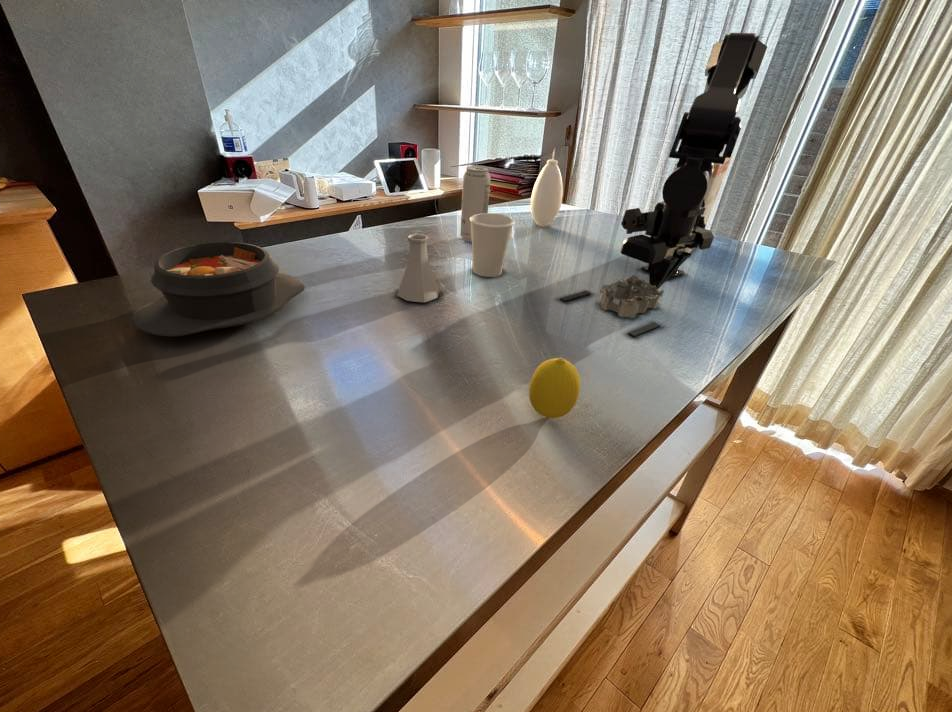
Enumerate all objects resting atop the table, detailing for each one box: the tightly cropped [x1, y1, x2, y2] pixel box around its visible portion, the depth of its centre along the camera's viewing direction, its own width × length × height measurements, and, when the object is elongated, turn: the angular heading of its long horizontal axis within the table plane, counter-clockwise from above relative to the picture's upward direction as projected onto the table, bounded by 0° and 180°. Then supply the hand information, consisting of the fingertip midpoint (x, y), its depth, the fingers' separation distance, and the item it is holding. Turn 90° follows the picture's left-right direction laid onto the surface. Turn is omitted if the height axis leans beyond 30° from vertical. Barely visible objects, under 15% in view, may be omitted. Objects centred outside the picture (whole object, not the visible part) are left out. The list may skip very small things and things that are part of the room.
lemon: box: [528, 357, 581, 419], centre depth 49 cm, size 6×6×8 cm
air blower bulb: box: [530, 147, 564, 228], centre depth 111 cm, size 8×8×18 cm
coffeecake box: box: [685, 153, 733, 254], centre depth 103 cm, size 15×7×20 cm, turn 144°
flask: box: [396, 233, 440, 304], centre depth 74 cm, size 7×7×10 cm
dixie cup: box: [470, 212, 515, 278], centre depth 85 cm, size 8×8×10 cm
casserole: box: [131, 241, 306, 338], centre depth 66 cm, size 25×19×8 cm
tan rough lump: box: [599, 274, 665, 319], centre depth 77 cm, size 11×8×4 cm
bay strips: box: [559, 290, 661, 338], centre depth 76 cm, size 7×16×1 cm, turn 36°
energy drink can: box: [459, 165, 492, 243], centre depth 100 cm, size 6×6×15 cm
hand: (653, 290), depth 81 cm, fingers closed
